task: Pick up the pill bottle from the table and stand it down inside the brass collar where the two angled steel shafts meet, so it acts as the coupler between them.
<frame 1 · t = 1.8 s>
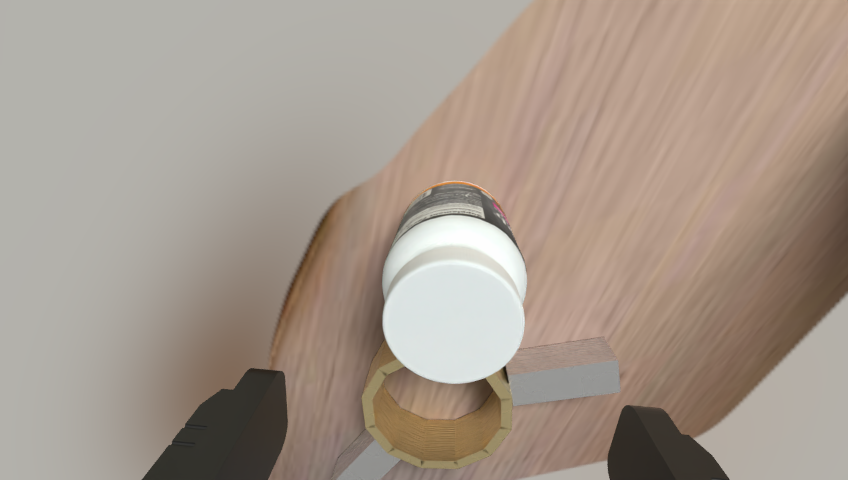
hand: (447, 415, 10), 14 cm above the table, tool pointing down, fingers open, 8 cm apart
pill bottle: (453, 227, 23), on the table
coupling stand: (438, 375, 26), on the table
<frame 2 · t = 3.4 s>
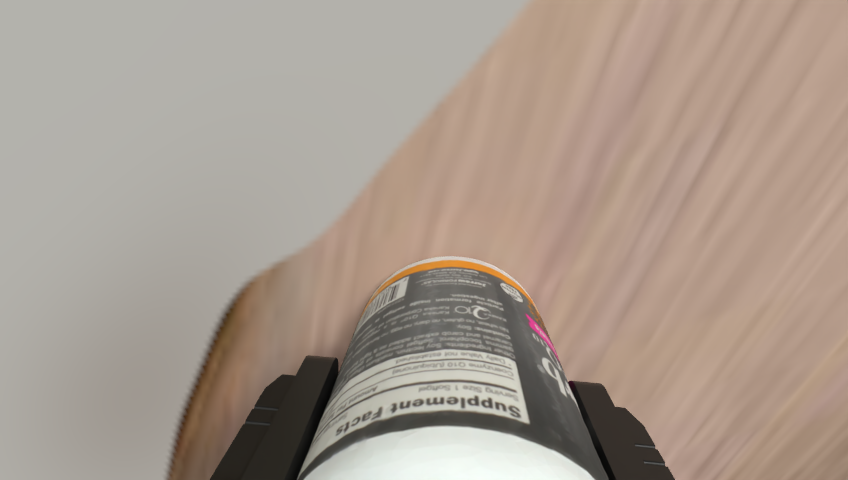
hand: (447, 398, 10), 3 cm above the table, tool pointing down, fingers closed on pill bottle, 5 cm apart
pill bottle: (448, 326, 13), on the table, touching gripper
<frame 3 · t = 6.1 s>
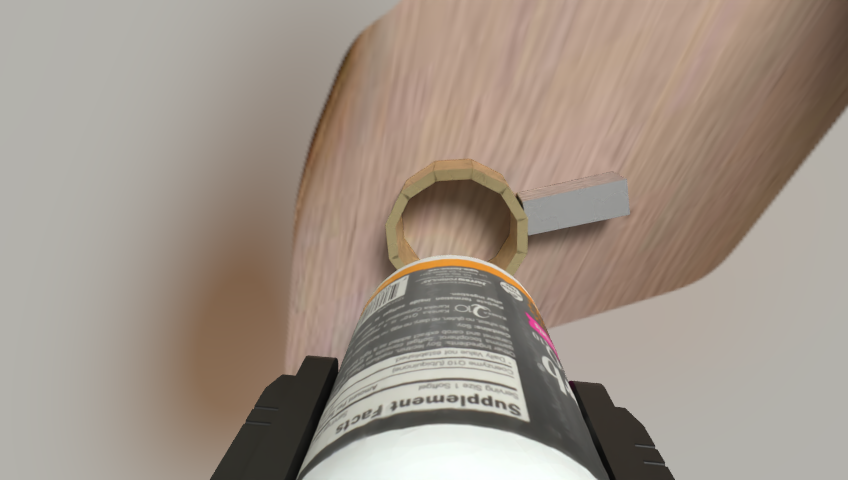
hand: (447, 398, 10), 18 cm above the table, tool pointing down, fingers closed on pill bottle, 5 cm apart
pill bottle: (448, 325, 13), point 15 cm above the table, touching gripper
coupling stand: (455, 222, 27), on the table
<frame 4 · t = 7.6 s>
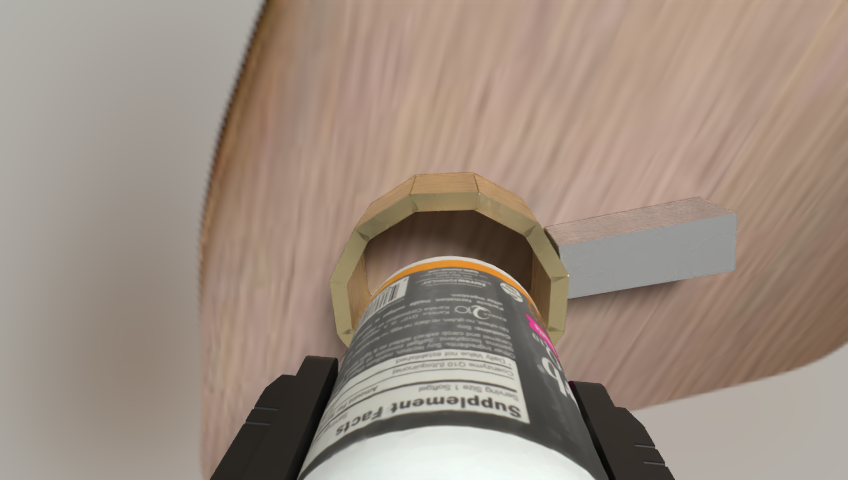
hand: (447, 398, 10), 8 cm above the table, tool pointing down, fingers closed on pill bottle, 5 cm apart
pill bottle: (448, 326, 13), point 5 cm above the table, touching gripper
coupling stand: (447, 269, 18), on the table
when the fingers open (4 cm above the table, at t = 8.7 s): pill bottle drops 1 cm, resting in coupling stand.
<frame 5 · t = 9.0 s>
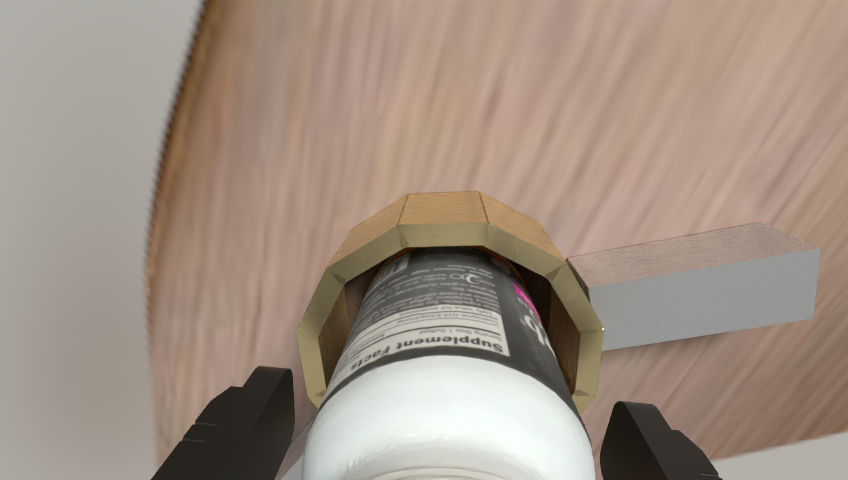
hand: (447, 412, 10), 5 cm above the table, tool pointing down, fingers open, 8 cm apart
pill bottle: (446, 302, 15), resting in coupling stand
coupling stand: (447, 307, 14), on the table
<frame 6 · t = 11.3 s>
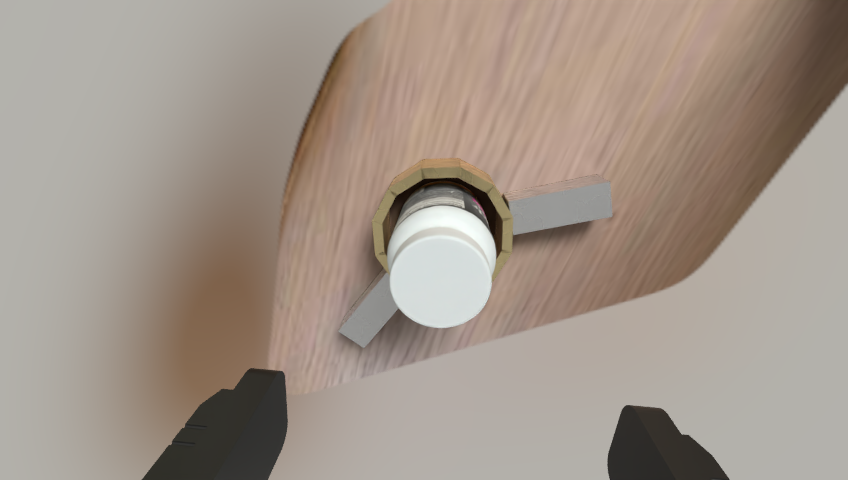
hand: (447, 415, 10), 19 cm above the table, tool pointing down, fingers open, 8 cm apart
pill bottle: (441, 218, 28), resting in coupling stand
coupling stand: (442, 221, 28), on the table
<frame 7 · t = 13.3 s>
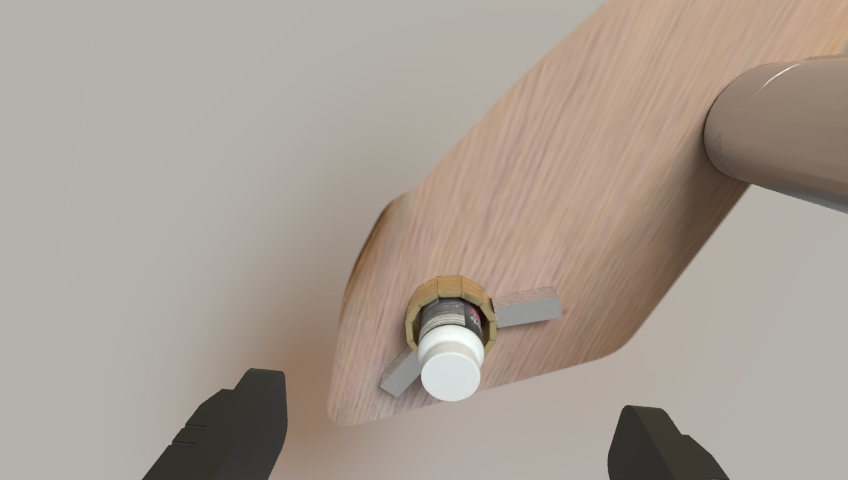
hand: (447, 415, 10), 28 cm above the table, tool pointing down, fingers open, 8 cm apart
pill bottle: (450, 311, 41), resting in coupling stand
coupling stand: (450, 313, 41), on the table
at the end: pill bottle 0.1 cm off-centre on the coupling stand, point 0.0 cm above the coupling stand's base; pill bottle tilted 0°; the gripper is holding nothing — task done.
